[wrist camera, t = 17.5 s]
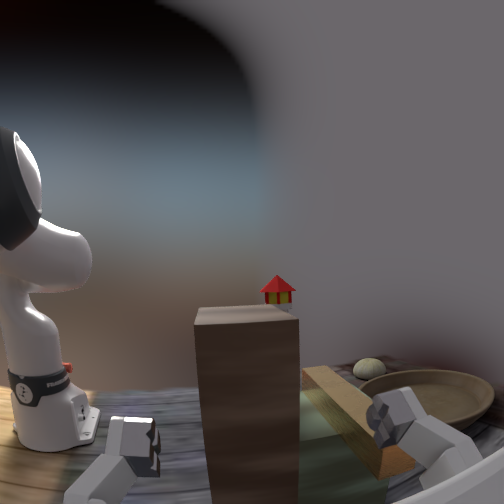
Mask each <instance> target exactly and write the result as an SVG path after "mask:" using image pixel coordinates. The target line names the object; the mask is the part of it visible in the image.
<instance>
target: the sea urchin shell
mask: <svg viewBox="0 0 504 504" xmlns="http://www.w3.org/2000/svg"><path fill="white" fill-rule="evenodd" d="M353 372H354V375H355V376H356V377H357V378H360V379H365V380H366V379H367V380H371V379H373V378H376V377H379V376H382V375H384V374H385V372H386V368H385V365H384V364H383V363H382V362H381V361H379V360H377V359H371V358H367V359H362V360H361V361H359V362H358V363H357V364H356V365H355V367H354V369H353Z"/></svg>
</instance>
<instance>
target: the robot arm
mask: <svg viewBox="0 0 504 504" xmlns="http://www.w3.org/2000/svg"><path fill="white" fill-rule="evenodd" d="M41 194H42V190H41V180H40V174H39V170H38V167H37V165H36V162H35V160H34V158H33V156H32V154H31V152H30V151H29V149H28V148H27V147H26V145H25V144H24V143H23V142H22V141H21V140H20V138H19V136H18V134H17V133H16V132H14V131H11V130H9V129H7V128H4V127H0V325H1V329H2V333H3V338H4V344H5V349H6V354H7V360H8V365H9V369H8V380H9V382H10V387H11V389H12V393H11V402H12V408H13V414H14V419H15V423H14V424H13V427H14V430H15V431H16V432H17V433H18V438H19V441H20V442H21V443H22V444H23V445H24V446H26V447H27V448H30V449H33V450H36V451H43V452H54V451H61V450H66V449H69V448H72V447H74V446H78V445H84V444H89V443H92V442H93V441H94V437H95V433H96V429H97V426H98V422H99V418H100V415H101V413H100V410H99V409H97V408H94V407H91V406H89V404H88V399H87V396H86V393H85V392H84V391H83V390H81V389H80V388H78V387H76V386H75V385H73V384H72V383H71V382H70V379H69V377H68V373H71V372H72V369H73V368H72V365H71V363H62V357H61V350H60V342H59V333H58V329H57V327H56V326H55V324H54V322H53V321H52V320H51V319H50V318H48V317H47V316H46V315H44V314H42V313H40V312H38V311H37V310H36V309H35V308H34V306H33V305H32V303H31V301H30V299H29V293H36V292H37V293H40V292H41V293H56V292H62V291H68V290H72V289H76V288H80V287H82V285H84V283H85V282H86V281H87V279H88V277H89V274H90V271H91V267H92V255H91V250H90V247H89V245H88V243H87V241H86V240H85V238H84V237H83V236H82V235H81V234H80V233H76V232H73V231H69V230H66V229H62V228H60V227H57V226H55V225H52V224H51V223H49V222H47V221H45V220H43V219H42V218H41V215H42V206H41V197H42V195H41ZM67 372H68V373H67ZM372 402H373V404H372V405H370V406H369V407H368V409H367V412H366V420H367V424H368V426H369V428H370V429H372V430H373V431H375V432H374V436H373V437H374V440H375V442H376V444H377V446H378V449H382V448H386V447H389V446H393V445H396V444H397V446H398V447H399V448H401V449H402V450H403V451H405V452H406V453H407V454H408V455H410V456H411V457H412V458H414V459H415V460H416V461H417V462H419V463H420V464H421V465H423V466H424V467H425V468H427V470H426V471H425V472H424V473H423V474H422V475H421V476H420V478H419V480H420V482H421V484H422V487H423V489H424V491H422V492H420V493H417V494H415V495H413V496H410V497H408V498H405V499H403V500H400V501H398V502H395V503H392V504H504V447H503V448H501V449H500V450H498V451H497V452H495V453H493V454H492V455H490V456H489V457H487V458H485V459H484V460H483V458H482V456H481V454H480V453H479V451H478V449H477V447H476V446H475V444H474V442H473V441H472V439H471V437H469V436H467V435H465V434H463V433H461V432H460V431H458V430H456V429H454V428H453V427H451V426H449V425H447V424H445V423H444V422H442V421H440V420H438V419H437V418H435V417H433V416H431V415H428V416H427V414H426V412H425V411H424V409H423V407H422V406H421V404H420V402H419V401H418V399H417V397H416V396H415V394H414V392H413V391H412V389H411V388H410V387H404V388H400V389H396V390H392V391H388V392H385V393H381V394H377V395H375V396H374V397H373V399H372ZM155 424H156V423H155V421H154V418H133V417H118V416H112V418H111V420H110V425H109V431H108V437H107V444H106V450H105V454H101V455H100V456H99V457H98V458H97V459H96V460H95V461H94V462H93V463H92V464H91V465H90V466H89V468H88V469H87V470H86V471H85V472H84V473H83V474H82V475H81V476H80V477H79V478H78V479H77V480H76V481H75V482H74V483H73V484H72V485H71V486H70V487H69V488H68V489H67V490H66V491H65V494H64V501H63V504H120V502H121V501H122V500H123V498H124V497H125V495H126V494H127V493H128V491H129V490H130V488H131V487H132V486H133V484H134V483H135V481H136V480H137V479H138V478H137V477H159V478H160V461H159V458H158V454H159V453H160V452H161V444H160V435H159V431H158V429H156V428H155Z"/></svg>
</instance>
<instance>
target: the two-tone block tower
mask: <svg viewBox="0 0 504 504" xmlns="http://www.w3.org/2000/svg"><path fill="white" fill-rule="evenodd" d="M194 335H195V349H196V363H197V375H198V387H199V398H200V408H201V418H202V427H203V436H204V445H205V453H206V461H207V469H208V476H209V483H210V490H211V497H212V504H384V502H385V498H386V493H387V489H388V484H389V479H390V477H389V478H386V479H383V480H380V481H378V480H377V479H376V478H375V477H374V476H373V474H372V473H371V472H370V471H369V470H368V469H367V468H366V467H365V465H364V464H363V463H362V462H361V461H360V460H359V458H358V457H357V456H356V455H355V454H354V453H353V452H352V450H351V449H350V448H349V447H348V446H347V445H346V443H345V442H344V441H343V440H342V439H341V438H340V436H339V435H338V434H337V433H336V432H335V430H334V429H333V428H332V427H331V426H330V424H329V423H328V422H327V421H326V420H325V418H324V417H323V416H322V415H321V414H320V412H319V411H318V410H317V409H316V408H315V406H314V405H313V404H312V403H311V401H310V400H309V399H308V398H307V397H306V395H305V394H304V393H303V392H302V391H300V357H299V356H300V355H299V319H298V318H296V317H294V316H292V315H290V314H288V313H286V312H284V311H282V310H280V309H278V308H277V307H275V306H273V305H271V304H268V305H250V306H229V307H205V308H199V310H198V313H197V317H196V320H195V323H194ZM350 384H351V383H350ZM351 385H352V384H351ZM352 386H353V387H355V386H354V385H352ZM355 388H356V387H355ZM356 389H357V390H359V389H358V388H356ZM359 391H360V390H359ZM360 392H361V393H363V392H362V391H360ZM363 394H364V393H363ZM364 395H365V396H367V395H366V394H364ZM367 397H368V396H367ZM368 398H369V399H371V398H370V397H368ZM371 400H372V399H371Z"/></svg>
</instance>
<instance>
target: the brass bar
mask: <svg viewBox="0 0 504 504" xmlns="http://www.w3.org/2000/svg"><path fill="white" fill-rule="evenodd" d="M302 392H303V393H304V394H305V395H306V397H307V398H308V399H309V400H310V401H311V403H312V404H313V405H314V406H315V408H316V409H317V410H318V411H319V412H320V414H321V415H322V416H323V417H324V418H325V420H326V421H327V422H328V423H329V424H330V426H331V427H332V428H333V429H334V430H335V432H336V433H337V434H338V435H339V436H340V438H341V439H342V440H343V441H344V442H345V443H346V445H347V446H348V447H349V448H350V449H351V450H352V452H353V453H354V454H355V455H356V456H357V457H358V458H359V460H360V461H361V462H362V463H363V464H364V465H365V467H366V468H367V469H368V470H369V471H370V472H371V473H372V474H373V476H374V477H375V478H376V479H377V480H378V481H380V480H383V479H386V478H389V477H392V476H395V475H398V474H400V473H403V472H406V471H409V470H411V469H414V466H415V461H416V460H415V459H414V458H412V457H411V456H410V455H408V454H407V453H406V452H405V451H403V450H402V449H401V448H399V447H398V446H397V444H396V445H393V446H389V447H386V448H382V449H378V446H377V444H376V442H375V440H374V437H373V436H374V432H375V431H373V430H372V429H370V428H369V426H368V424H367V420H366V412H367V409H368V407H369V406H370V405H372V404H373V402H372V400H371V399H369V398H368V397H367V396H365V395H364V394H363V393H361V392H360V391H359V390H357V389H356V388H355V387H353V386H352V385H351V384H349V383H348V382H347V381H345V380H344V379H343V378H342V377H340V376H339V375H338V374H336V373H335V372H334V371H332V370H331V369H330V368H328V367H327V366H326V365H325V366H317V367H310V368H302Z"/></svg>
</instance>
